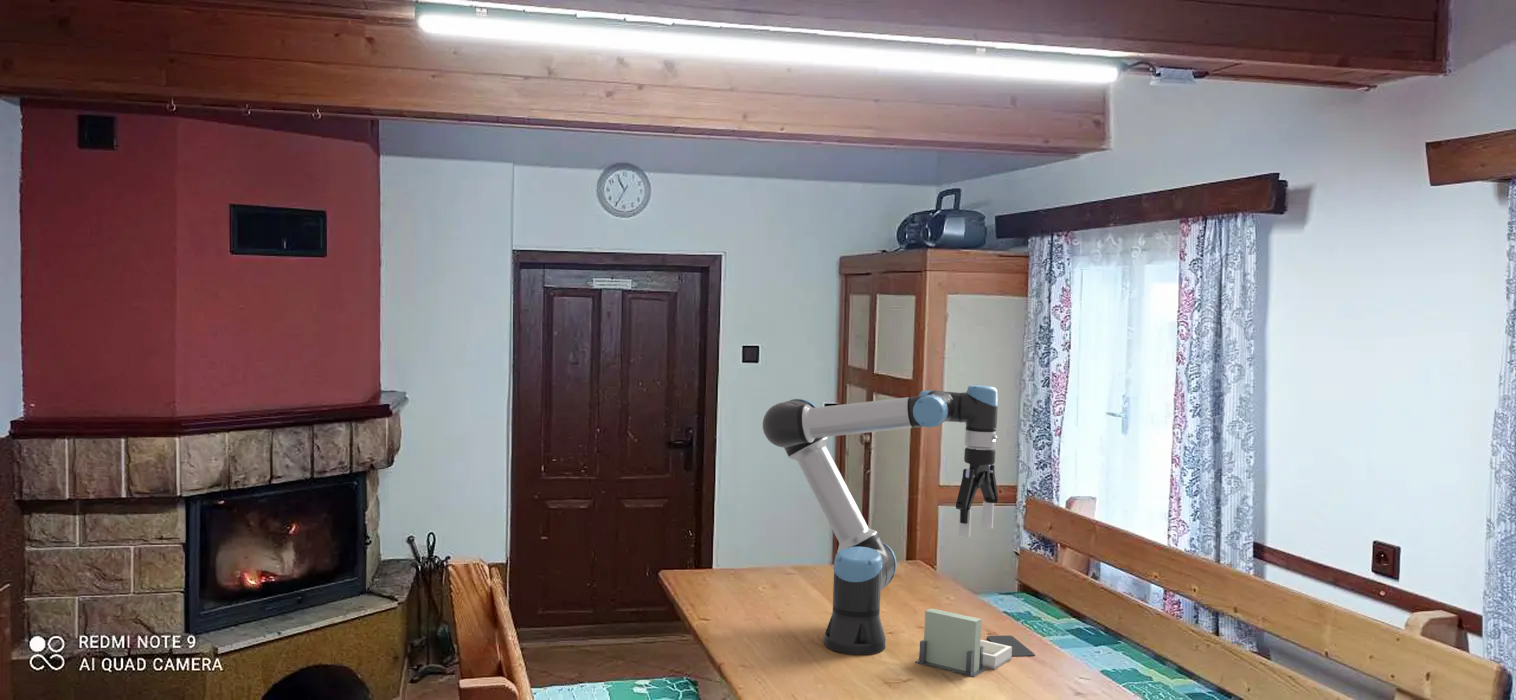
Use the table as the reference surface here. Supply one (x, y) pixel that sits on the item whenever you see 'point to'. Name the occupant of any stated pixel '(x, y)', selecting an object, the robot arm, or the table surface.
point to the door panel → (952, 638)
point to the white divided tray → (995, 654)
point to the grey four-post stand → (968, 667)
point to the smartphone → (1012, 645)
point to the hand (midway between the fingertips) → (976, 532)
